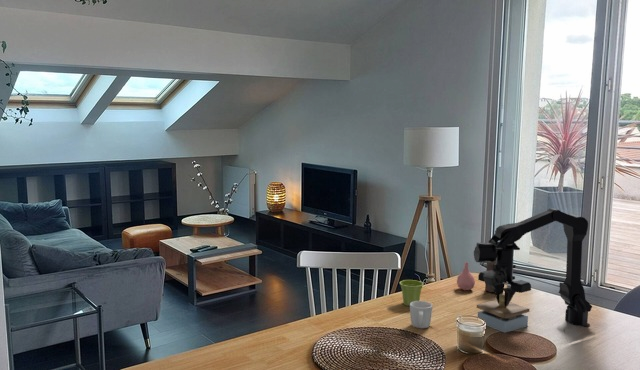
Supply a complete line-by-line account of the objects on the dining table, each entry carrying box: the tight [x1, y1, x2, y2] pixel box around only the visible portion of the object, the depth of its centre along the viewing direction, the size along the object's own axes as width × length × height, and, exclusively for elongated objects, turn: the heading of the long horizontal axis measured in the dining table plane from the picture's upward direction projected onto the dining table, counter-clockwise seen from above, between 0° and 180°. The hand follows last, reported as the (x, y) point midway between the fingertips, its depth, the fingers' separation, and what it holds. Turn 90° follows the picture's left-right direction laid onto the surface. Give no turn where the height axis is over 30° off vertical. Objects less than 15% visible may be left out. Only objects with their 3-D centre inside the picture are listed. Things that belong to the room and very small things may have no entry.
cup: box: [409, 300, 433, 329], centre depth 187 cm, size 11×8×8 cm
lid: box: [476, 292, 530, 319], centre depth 188 cm, size 13×13×6 cm
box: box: [477, 310, 529, 333], centre depth 188 cm, size 12×12×4 cm
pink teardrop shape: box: [456, 262, 476, 291], centre depth 230 cm, size 8×8×12 cm
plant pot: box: [399, 279, 424, 307], centre depth 212 cm, size 9×9×9 cm
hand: (502, 304), depth 188 cm, fingers closed on lid, 3 cm apart
